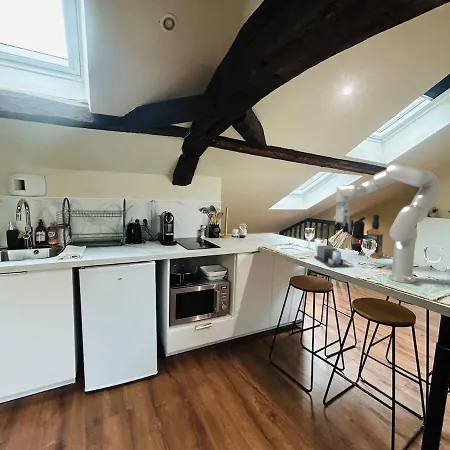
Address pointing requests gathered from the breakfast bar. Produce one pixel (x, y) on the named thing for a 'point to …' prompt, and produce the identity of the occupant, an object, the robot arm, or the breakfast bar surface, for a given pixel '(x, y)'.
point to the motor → (328, 257)
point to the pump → (337, 257)
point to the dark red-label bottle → (358, 233)
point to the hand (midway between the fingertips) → (341, 231)
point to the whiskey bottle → (376, 237)
